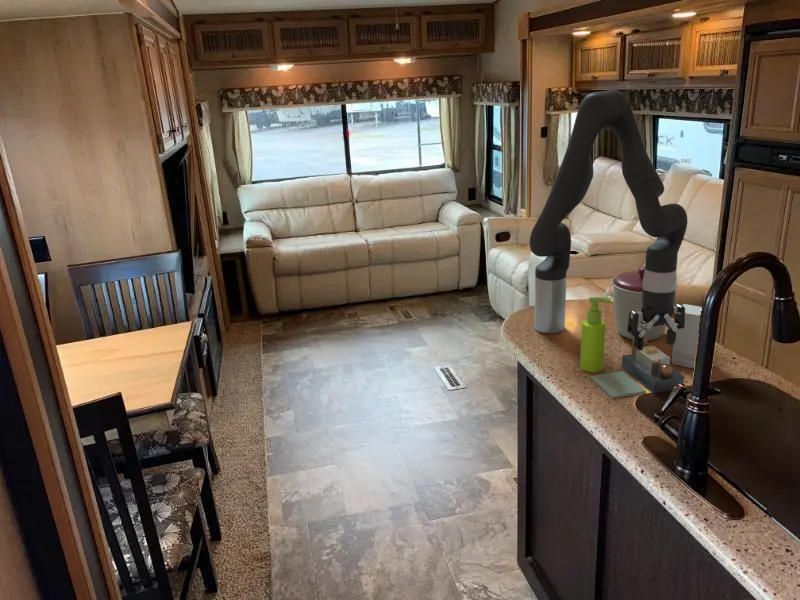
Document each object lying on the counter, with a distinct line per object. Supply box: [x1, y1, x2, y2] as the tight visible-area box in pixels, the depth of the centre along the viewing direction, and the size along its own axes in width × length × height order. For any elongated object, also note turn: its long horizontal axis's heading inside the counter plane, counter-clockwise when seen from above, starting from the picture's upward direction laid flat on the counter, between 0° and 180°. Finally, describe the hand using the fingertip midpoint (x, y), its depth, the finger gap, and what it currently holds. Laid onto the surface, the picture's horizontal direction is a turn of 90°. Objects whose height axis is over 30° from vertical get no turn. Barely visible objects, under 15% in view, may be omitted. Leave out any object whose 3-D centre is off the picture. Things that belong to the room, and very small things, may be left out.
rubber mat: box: [590, 370, 647, 399], centre depth 156 cm, size 11×9×1 cm
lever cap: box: [636, 345, 671, 373], centre depth 156 cm, size 7×5×4 cm
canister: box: [610, 266, 679, 341], centre depth 179 cm, size 18×18×21 cm
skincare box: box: [671, 303, 703, 369], centre depth 161 cm, size 8×7×16 cm
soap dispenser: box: [579, 296, 612, 373], centre depth 162 cm, size 6×7×20 cm
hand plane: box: [621, 336, 685, 395], centre depth 157 cm, size 15×8×8 cm, turn 11°
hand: (654, 346), depth 155 cm, fingers open, 8 cm apart
